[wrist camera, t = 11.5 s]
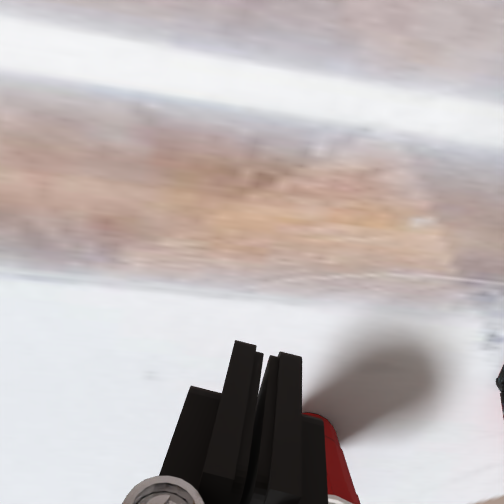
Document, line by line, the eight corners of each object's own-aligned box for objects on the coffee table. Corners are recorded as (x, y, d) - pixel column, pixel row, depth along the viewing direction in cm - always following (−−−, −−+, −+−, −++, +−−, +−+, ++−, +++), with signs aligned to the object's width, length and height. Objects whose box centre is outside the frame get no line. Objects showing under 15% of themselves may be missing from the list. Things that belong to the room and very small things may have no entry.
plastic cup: (281, 485, 52) (275, 600, 41) (238, 410, 48) (219, 514, 37) (377, 460, 49) (398, 576, 38) (338, 379, 46) (349, 481, 35)
